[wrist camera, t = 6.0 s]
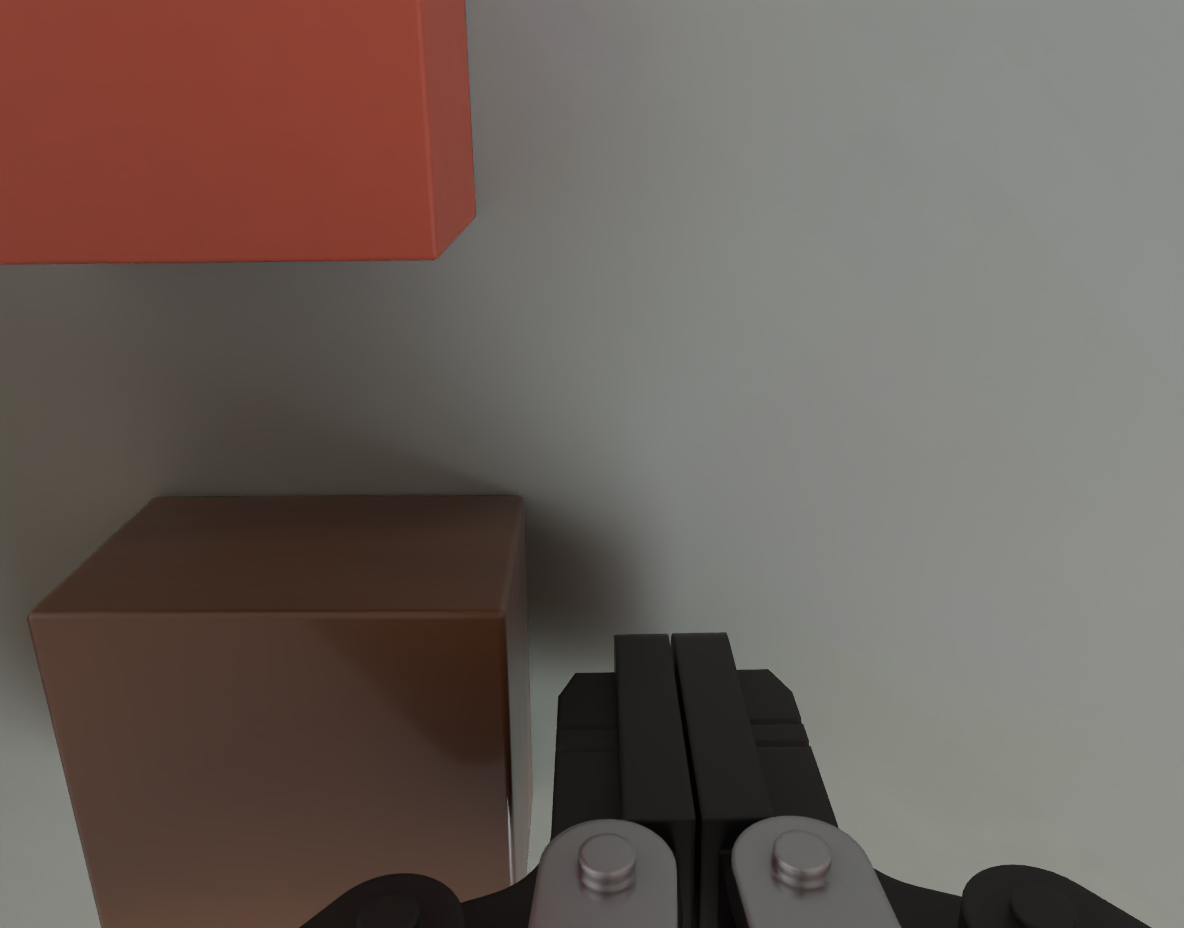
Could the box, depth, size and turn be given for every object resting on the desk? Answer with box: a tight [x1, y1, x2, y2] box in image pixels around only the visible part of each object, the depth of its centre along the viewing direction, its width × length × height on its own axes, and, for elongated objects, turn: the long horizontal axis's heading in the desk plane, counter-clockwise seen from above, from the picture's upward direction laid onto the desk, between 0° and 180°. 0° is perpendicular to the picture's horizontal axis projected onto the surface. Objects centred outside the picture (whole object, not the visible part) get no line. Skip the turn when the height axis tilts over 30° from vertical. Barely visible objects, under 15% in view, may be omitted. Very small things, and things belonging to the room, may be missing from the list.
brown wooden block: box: [27, 496, 533, 928], centre depth 12 cm, size 5×5×3 cm
